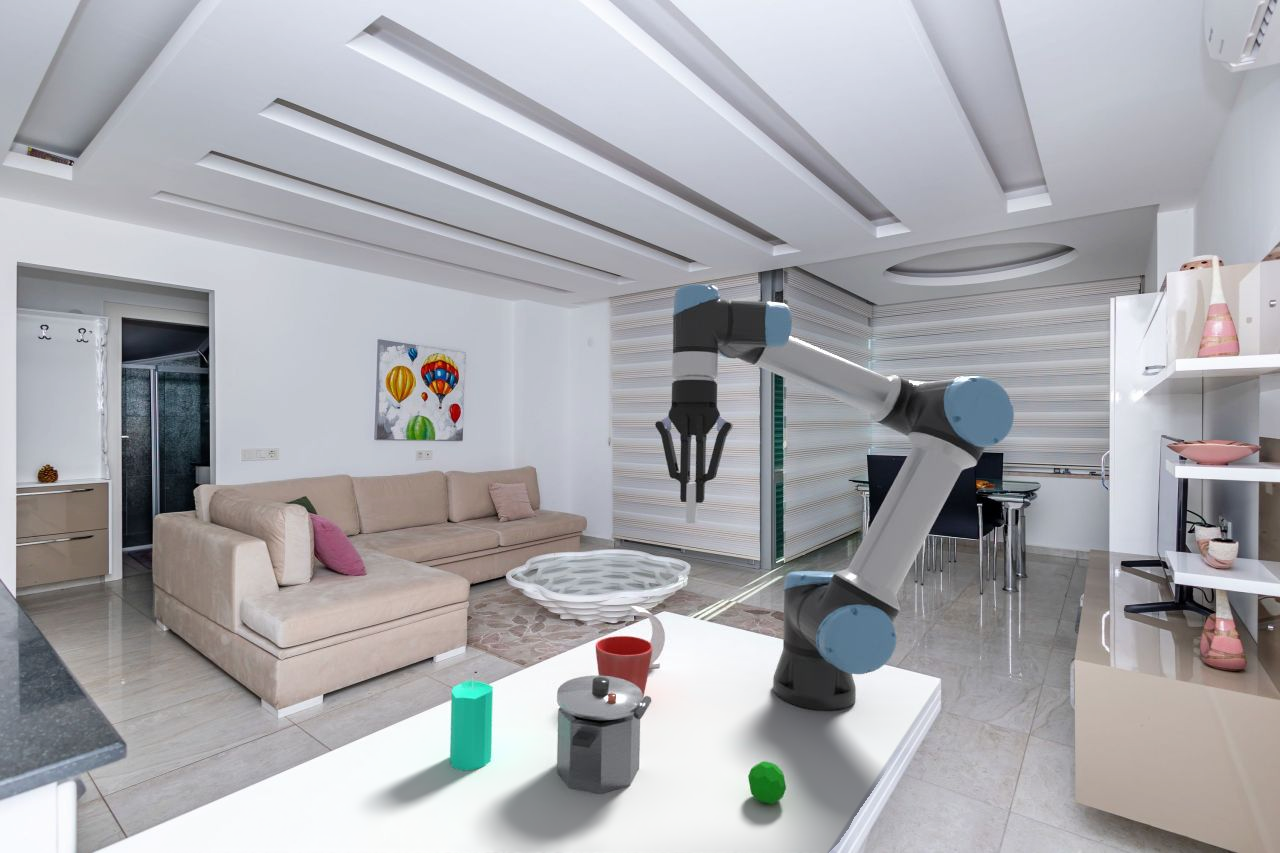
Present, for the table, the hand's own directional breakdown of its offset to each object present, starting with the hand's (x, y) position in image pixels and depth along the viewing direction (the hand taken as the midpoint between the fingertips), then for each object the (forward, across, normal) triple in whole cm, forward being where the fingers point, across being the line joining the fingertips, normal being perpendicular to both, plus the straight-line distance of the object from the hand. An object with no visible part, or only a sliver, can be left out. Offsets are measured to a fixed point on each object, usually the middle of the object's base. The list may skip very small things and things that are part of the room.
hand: (691, 522), depth 104 cm
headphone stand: (+35, +14, -26) cm, 45 cm away
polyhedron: (+35, -14, +16) cm, 41 cm away
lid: (+25, +10, +16) cm, 31 cm away
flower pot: (+35, +14, -9) cm, 38 cm away
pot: (+34, +10, +16) cm, 39 cm away
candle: (+35, +29, +19) cm, 49 cm away
